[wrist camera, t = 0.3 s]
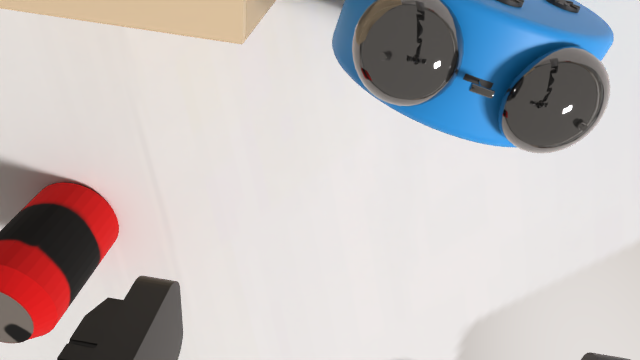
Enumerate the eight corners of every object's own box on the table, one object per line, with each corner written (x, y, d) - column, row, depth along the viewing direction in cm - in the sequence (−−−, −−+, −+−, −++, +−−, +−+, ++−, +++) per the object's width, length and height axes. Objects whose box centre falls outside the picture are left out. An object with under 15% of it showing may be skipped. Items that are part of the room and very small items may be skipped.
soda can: (87, 260, 51) (10, 364, 41) (22, 205, 48) (-77, 303, 38) (137, 225, 48) (67, 329, 38) (70, 165, 45) (-24, 259, 35)
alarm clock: (341, 10, 35) (307, 108, 23) (375, -89, 32) (355, -38, 20) (526, 76, 36) (590, 206, 24) (578, -14, 33) (684, 81, 20)
